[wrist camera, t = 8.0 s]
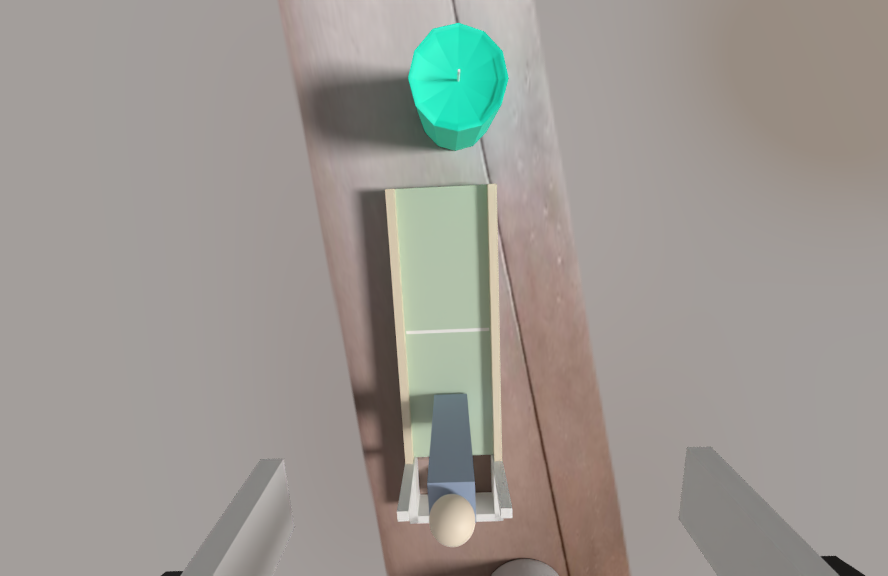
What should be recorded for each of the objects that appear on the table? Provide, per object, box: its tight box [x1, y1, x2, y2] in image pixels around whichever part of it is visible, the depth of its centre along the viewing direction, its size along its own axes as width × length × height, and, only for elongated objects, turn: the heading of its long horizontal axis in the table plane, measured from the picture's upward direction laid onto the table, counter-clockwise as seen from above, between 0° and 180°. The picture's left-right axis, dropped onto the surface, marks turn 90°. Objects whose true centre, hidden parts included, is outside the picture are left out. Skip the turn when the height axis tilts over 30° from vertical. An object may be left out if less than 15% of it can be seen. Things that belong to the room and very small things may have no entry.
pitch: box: [385, 184, 502, 464], centre depth 37 cm, size 25×9×3 cm, turn 3°
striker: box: [427, 394, 476, 547], centre depth 31 cm, size 3×3×15 cm
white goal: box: [397, 455, 512, 524], centre depth 38 cm, size 6×9×9 cm
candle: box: [408, 23, 509, 151], centre depth 29 cm, size 6×6×12 cm
